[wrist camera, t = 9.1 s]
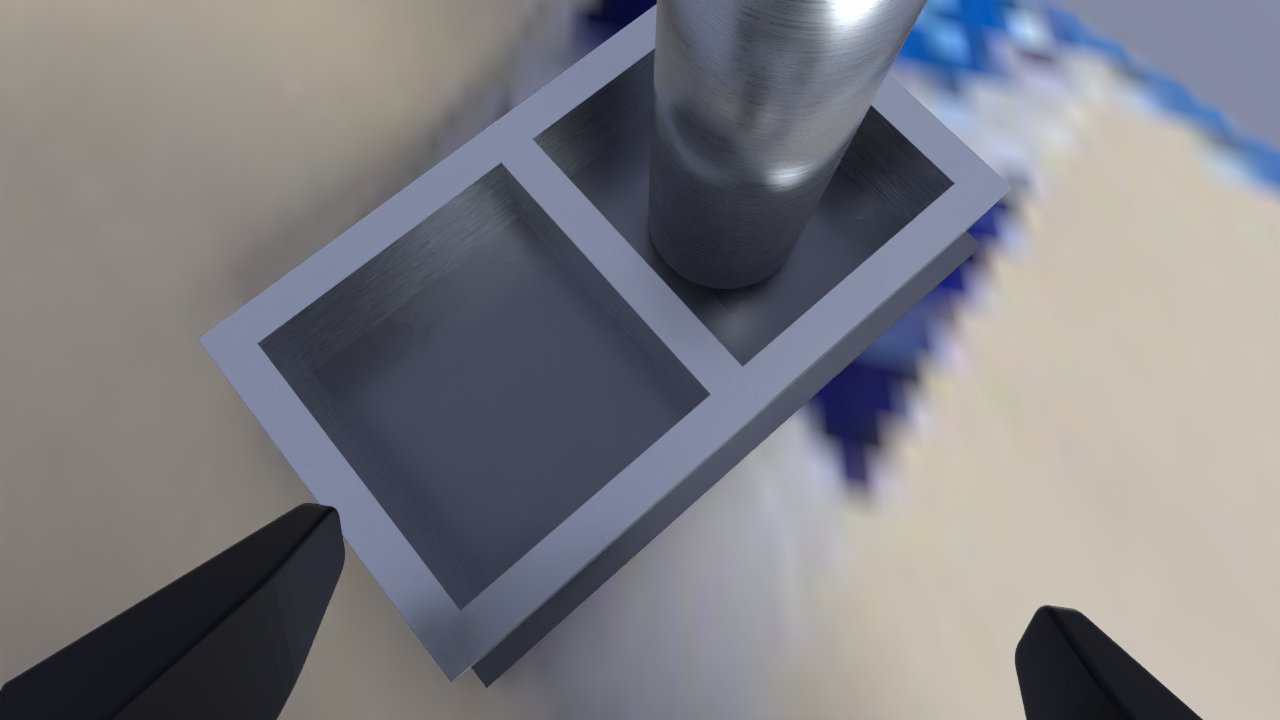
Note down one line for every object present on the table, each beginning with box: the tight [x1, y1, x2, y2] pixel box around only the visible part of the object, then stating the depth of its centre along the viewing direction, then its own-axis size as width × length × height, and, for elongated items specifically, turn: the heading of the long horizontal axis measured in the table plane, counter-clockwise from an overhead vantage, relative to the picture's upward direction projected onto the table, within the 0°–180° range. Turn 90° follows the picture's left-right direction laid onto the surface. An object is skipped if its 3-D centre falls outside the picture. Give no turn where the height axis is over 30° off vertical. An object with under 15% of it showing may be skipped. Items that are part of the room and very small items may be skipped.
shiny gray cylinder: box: [648, 0, 927, 289], centre depth 15 cm, size 4×4×12 cm
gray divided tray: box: [198, 4, 1012, 688], centre depth 19 cm, size 18×11×4 cm, turn 131°
